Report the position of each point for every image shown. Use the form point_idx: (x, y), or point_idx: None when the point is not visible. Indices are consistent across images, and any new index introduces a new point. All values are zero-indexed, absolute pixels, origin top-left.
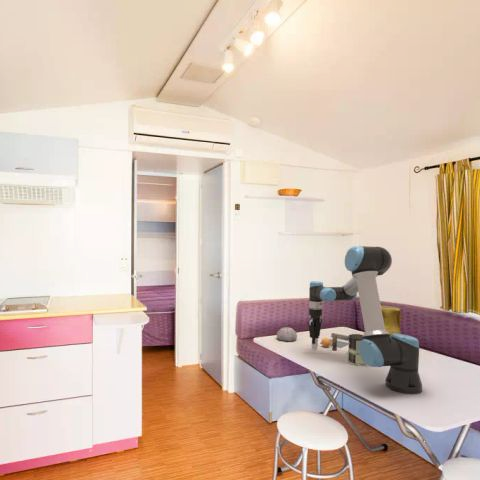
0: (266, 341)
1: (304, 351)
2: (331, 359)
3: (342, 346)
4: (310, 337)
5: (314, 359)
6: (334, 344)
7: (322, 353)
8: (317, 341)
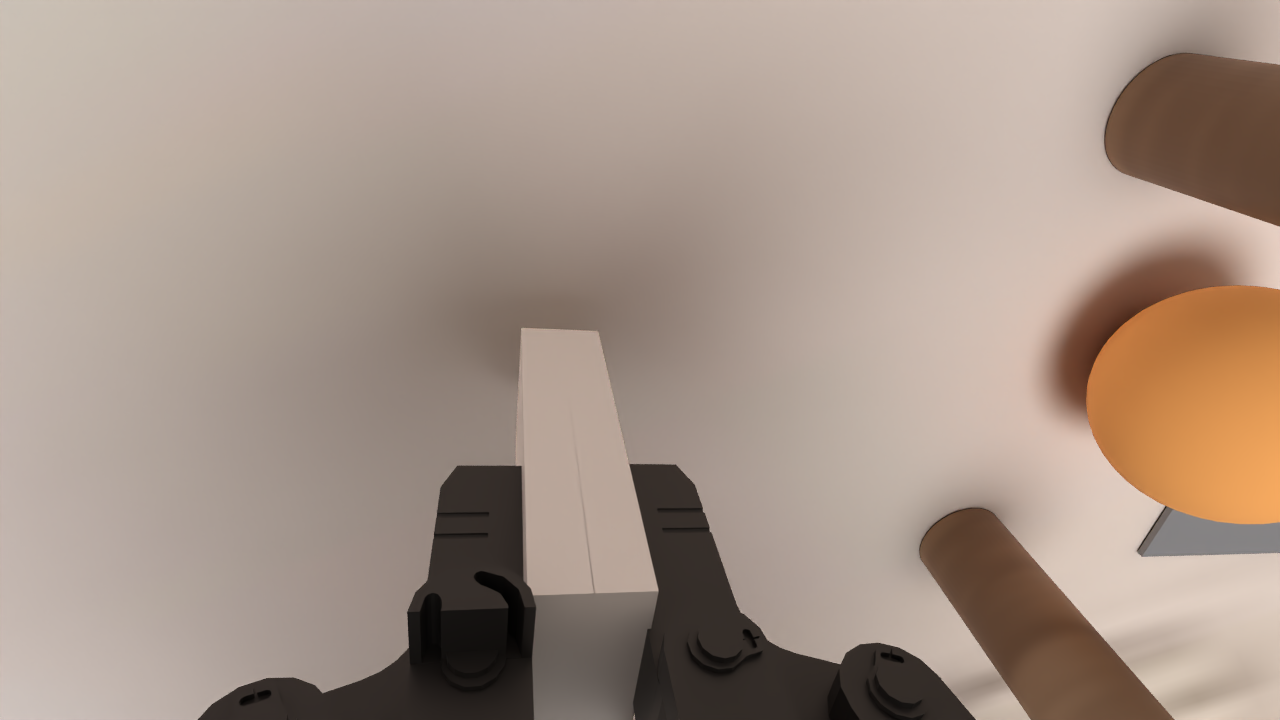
0: None
1: (448, 93)
2: None
3: (1223, 548)
4: (440, 581)
5: (44, 560)
6: (989, 655)
7: None
8: (1253, 215)
